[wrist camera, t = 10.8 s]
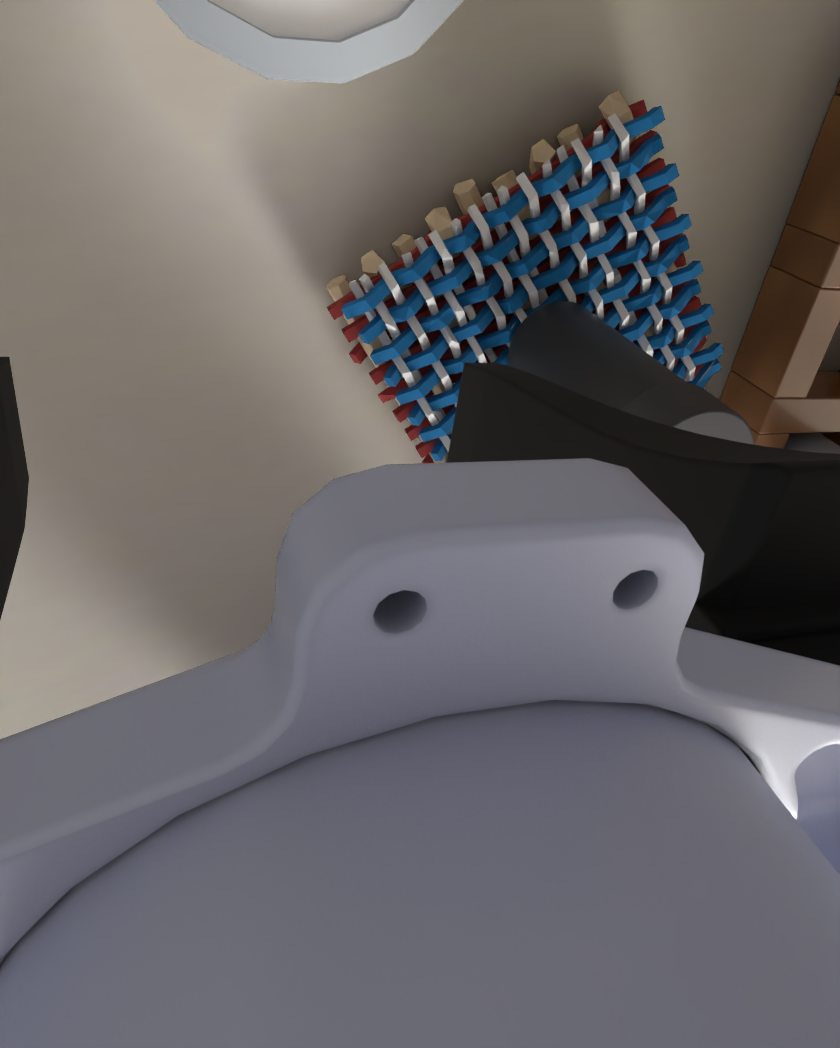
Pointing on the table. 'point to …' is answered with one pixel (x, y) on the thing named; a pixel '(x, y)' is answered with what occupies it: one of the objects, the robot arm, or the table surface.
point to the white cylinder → (310, 33)
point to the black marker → (616, 372)
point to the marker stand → (797, 313)
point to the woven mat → (533, 271)
